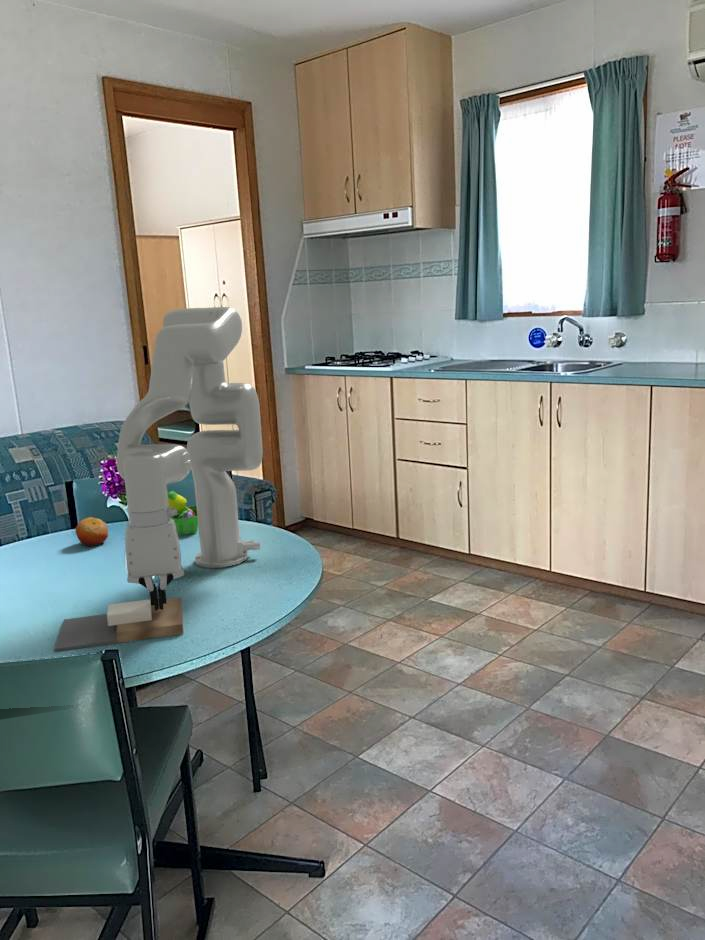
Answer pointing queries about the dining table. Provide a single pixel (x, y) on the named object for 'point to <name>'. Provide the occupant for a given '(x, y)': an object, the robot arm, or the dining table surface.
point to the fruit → (91, 531)
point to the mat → (86, 632)
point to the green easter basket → (183, 514)
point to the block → (129, 612)
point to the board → (154, 623)
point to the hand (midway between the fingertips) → (159, 607)
